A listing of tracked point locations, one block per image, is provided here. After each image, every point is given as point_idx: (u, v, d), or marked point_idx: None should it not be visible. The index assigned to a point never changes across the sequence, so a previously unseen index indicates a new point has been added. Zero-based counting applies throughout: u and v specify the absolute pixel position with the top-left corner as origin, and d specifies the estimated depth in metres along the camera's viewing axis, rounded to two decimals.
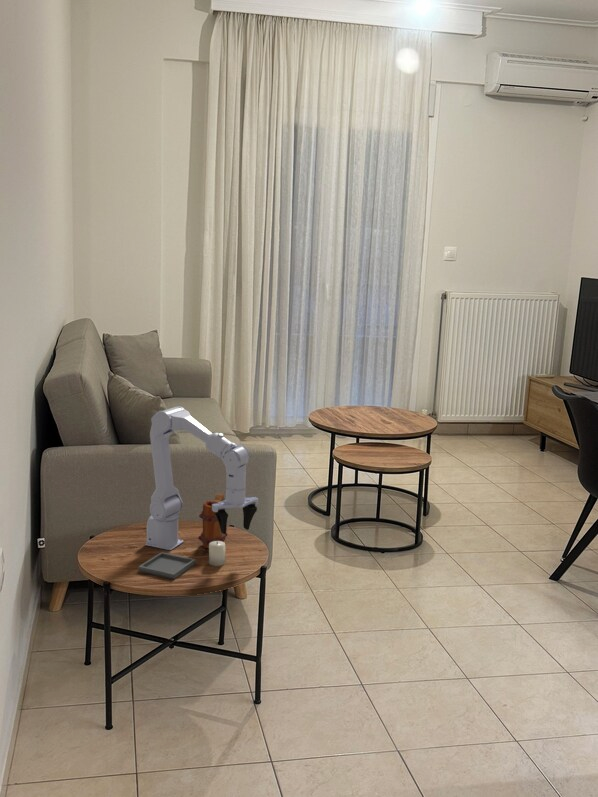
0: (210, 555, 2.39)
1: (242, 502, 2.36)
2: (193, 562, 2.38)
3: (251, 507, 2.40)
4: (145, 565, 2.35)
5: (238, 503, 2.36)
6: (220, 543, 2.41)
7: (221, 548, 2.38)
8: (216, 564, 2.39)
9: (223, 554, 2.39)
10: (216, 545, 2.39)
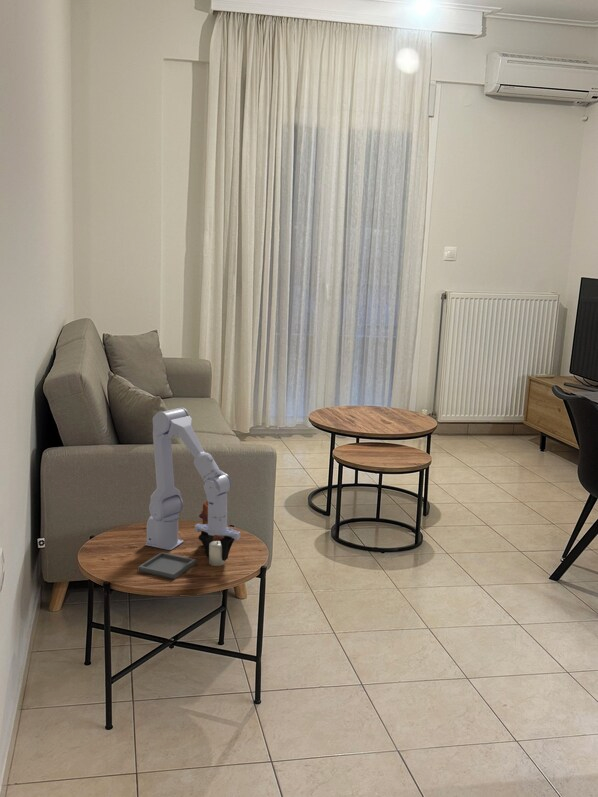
0: (210, 555, 2.39)
1: (215, 530, 2.36)
2: (193, 562, 2.38)
3: (228, 539, 2.36)
4: (145, 565, 2.35)
5: (211, 530, 2.37)
6: (220, 542, 2.41)
7: (221, 548, 2.38)
8: (216, 564, 2.39)
9: None
10: (216, 545, 2.39)
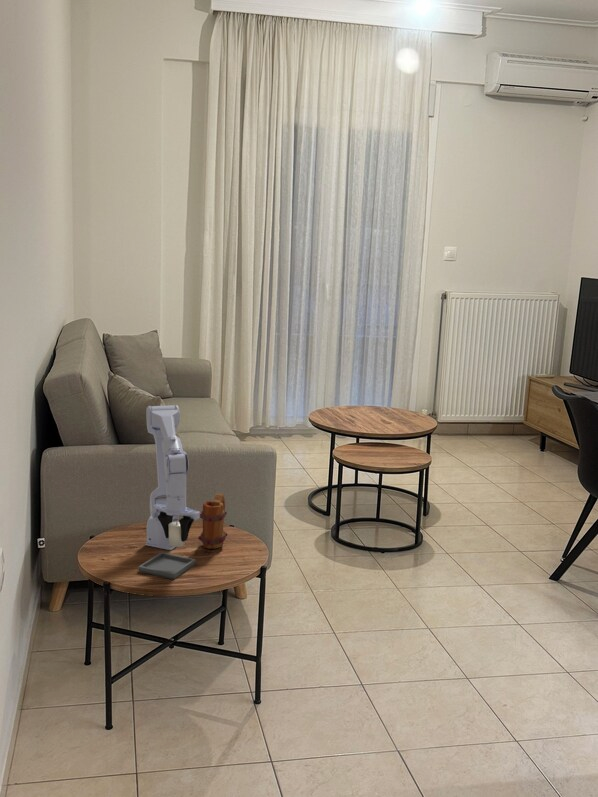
0: (169, 535, 2.34)
1: (174, 510, 2.31)
2: (193, 562, 2.38)
3: (187, 519, 2.31)
4: (145, 565, 2.35)
5: (169, 510, 2.31)
6: None
7: (180, 528, 2.33)
8: (175, 545, 2.34)
9: None
10: (176, 525, 2.34)
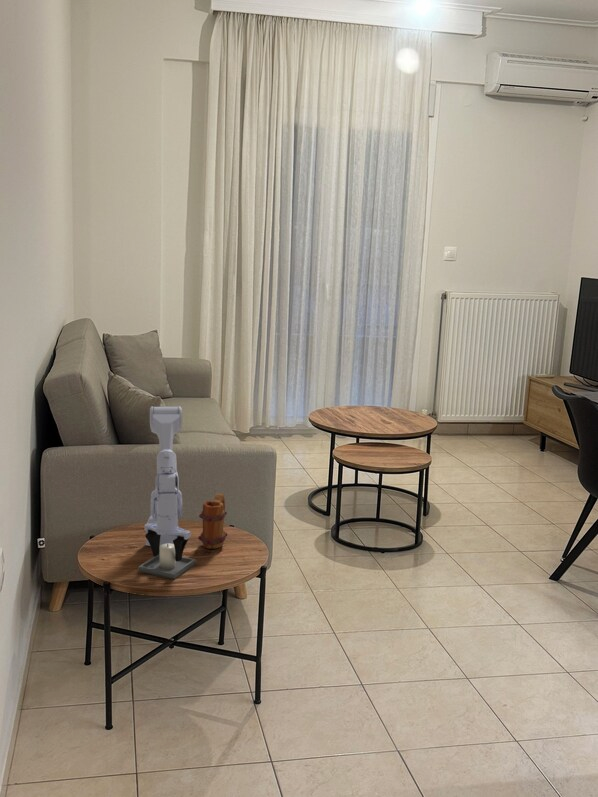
0: (160, 557, 2.35)
1: (164, 530, 2.31)
2: (193, 562, 2.38)
3: (177, 539, 2.31)
4: (145, 565, 2.35)
5: (160, 529, 2.31)
6: (171, 545, 2.36)
7: (170, 551, 2.33)
8: (165, 567, 2.34)
9: (172, 557, 2.34)
10: (166, 547, 2.34)
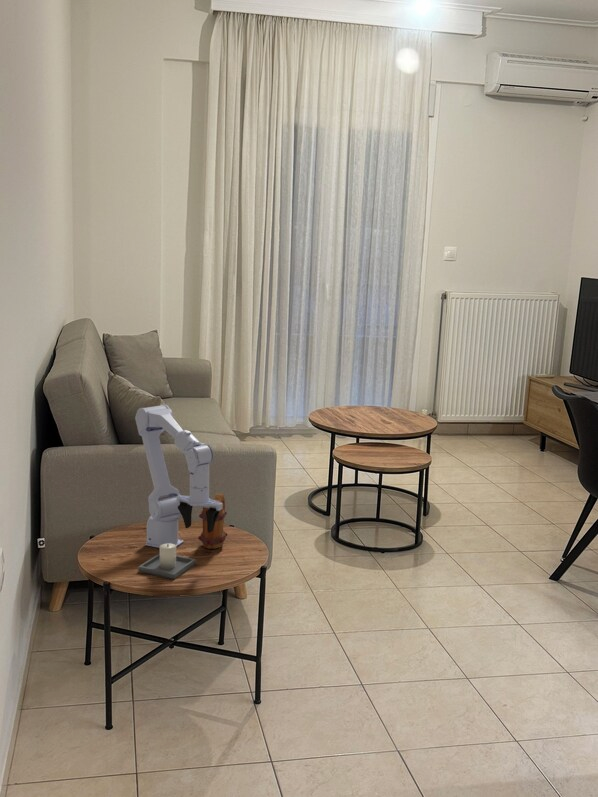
0: (160, 557, 2.35)
1: (197, 501, 2.34)
2: (193, 562, 2.38)
3: (209, 510, 2.34)
4: (145, 565, 2.35)
5: (192, 501, 2.35)
6: (171, 545, 2.36)
7: (170, 551, 2.33)
8: (165, 567, 2.34)
9: (172, 557, 2.34)
10: (167, 547, 2.34)
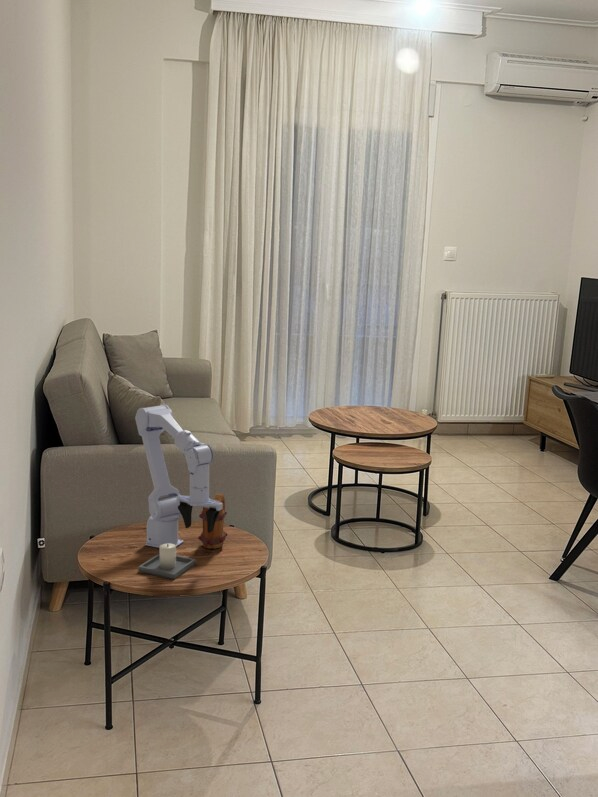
0: (160, 557, 2.35)
1: (197, 501, 2.34)
2: (193, 562, 2.38)
3: (209, 510, 2.34)
4: (145, 565, 2.35)
5: (192, 501, 2.35)
6: (171, 545, 2.36)
7: (170, 551, 2.33)
8: (165, 567, 2.34)
9: (172, 557, 2.34)
10: (166, 547, 2.34)
